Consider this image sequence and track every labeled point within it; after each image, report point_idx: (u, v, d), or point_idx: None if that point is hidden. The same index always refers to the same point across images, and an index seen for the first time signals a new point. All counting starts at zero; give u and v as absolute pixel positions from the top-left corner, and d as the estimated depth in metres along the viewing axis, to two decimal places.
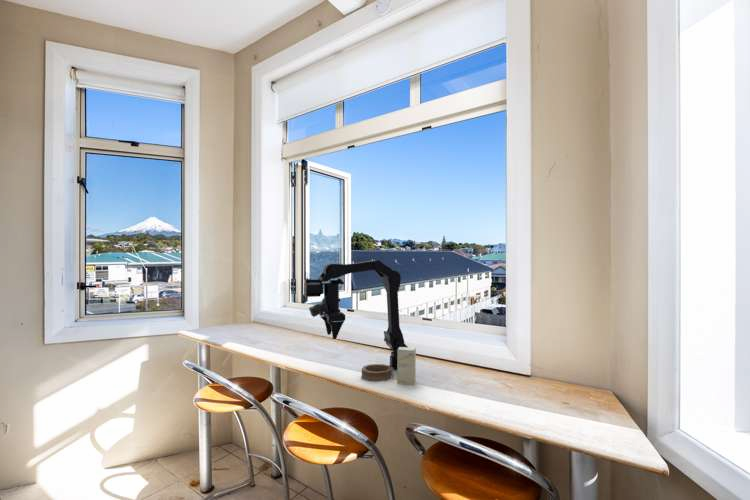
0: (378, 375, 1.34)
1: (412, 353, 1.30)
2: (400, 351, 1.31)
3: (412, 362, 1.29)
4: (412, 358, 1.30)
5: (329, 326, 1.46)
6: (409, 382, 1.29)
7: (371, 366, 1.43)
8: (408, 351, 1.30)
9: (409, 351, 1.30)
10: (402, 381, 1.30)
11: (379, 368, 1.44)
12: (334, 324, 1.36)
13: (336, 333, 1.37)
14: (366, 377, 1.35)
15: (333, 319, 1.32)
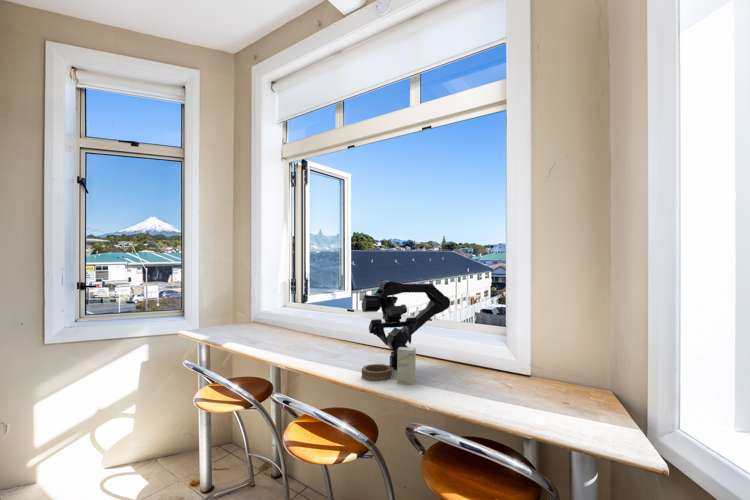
0: (378, 375, 1.34)
1: (412, 353, 1.30)
2: (400, 351, 1.31)
3: (412, 362, 1.29)
4: (412, 358, 1.30)
5: None
6: (409, 382, 1.29)
7: (371, 366, 1.43)
8: (408, 351, 1.30)
9: (409, 351, 1.30)
10: (402, 381, 1.30)
11: (379, 368, 1.44)
12: None
13: None
14: (366, 377, 1.35)
15: None
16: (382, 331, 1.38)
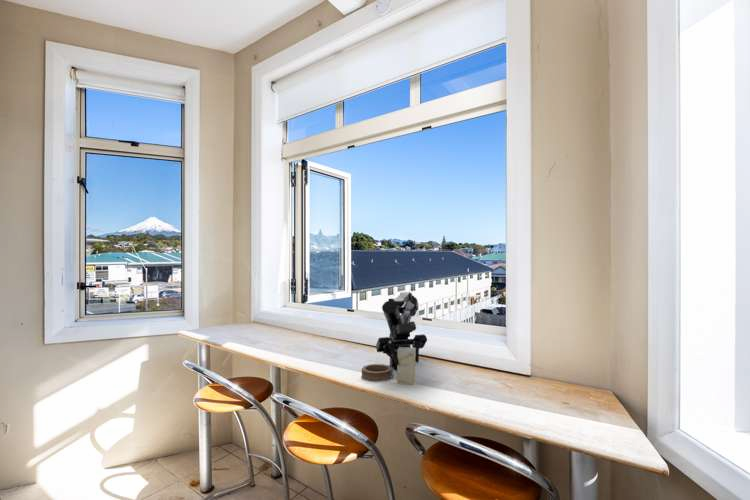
0: (378, 375, 1.34)
1: (412, 353, 1.30)
2: (400, 351, 1.31)
3: (412, 362, 1.29)
4: (412, 358, 1.30)
5: None
6: (409, 382, 1.29)
7: (371, 366, 1.43)
8: (408, 351, 1.30)
9: (409, 351, 1.30)
10: (402, 381, 1.30)
11: (379, 368, 1.44)
12: None
13: None
14: (366, 377, 1.35)
15: None
16: (392, 350, 1.32)
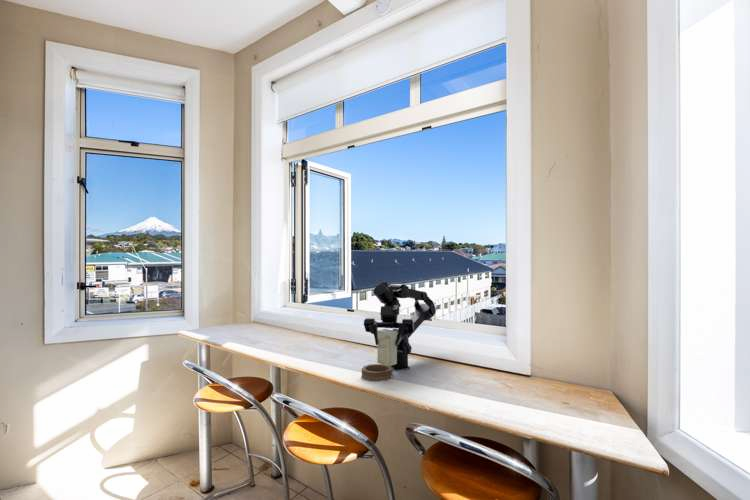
0: (378, 375, 1.34)
1: (388, 336, 1.32)
2: (379, 332, 1.35)
3: (388, 344, 1.32)
4: (388, 340, 1.32)
5: (377, 337, 1.37)
6: (386, 363, 1.33)
7: (371, 366, 1.43)
8: (385, 333, 1.33)
9: (386, 333, 1.33)
10: (381, 362, 1.35)
11: (379, 368, 1.44)
12: None
13: (399, 341, 1.35)
14: (366, 377, 1.35)
15: (412, 324, 1.37)
16: (374, 331, 1.38)
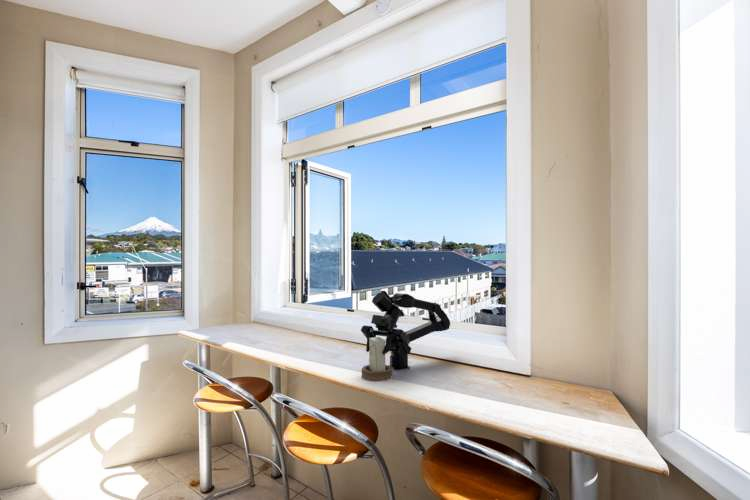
0: (378, 375, 1.34)
1: (374, 344, 1.37)
2: (370, 340, 1.40)
3: (374, 352, 1.36)
4: (374, 348, 1.36)
5: None
6: (373, 370, 1.37)
7: None
8: (372, 341, 1.38)
9: (373, 341, 1.38)
10: (371, 368, 1.40)
11: None
12: (391, 341, 1.39)
13: (387, 350, 1.37)
14: (366, 377, 1.35)
15: (402, 335, 1.37)
16: (368, 338, 1.43)
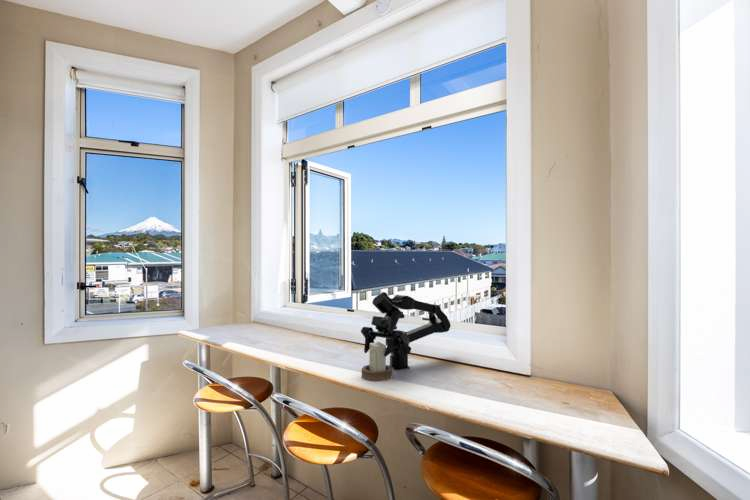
0: (378, 375, 1.34)
1: (375, 349, 1.36)
2: (370, 345, 1.40)
3: (375, 357, 1.36)
4: (375, 353, 1.36)
5: (368, 345, 1.43)
6: None
7: None
8: (373, 346, 1.38)
9: (373, 346, 1.37)
10: None
11: None
12: (393, 343, 1.38)
13: (389, 352, 1.37)
14: (366, 377, 1.35)
15: (402, 336, 1.37)
16: (366, 339, 1.44)
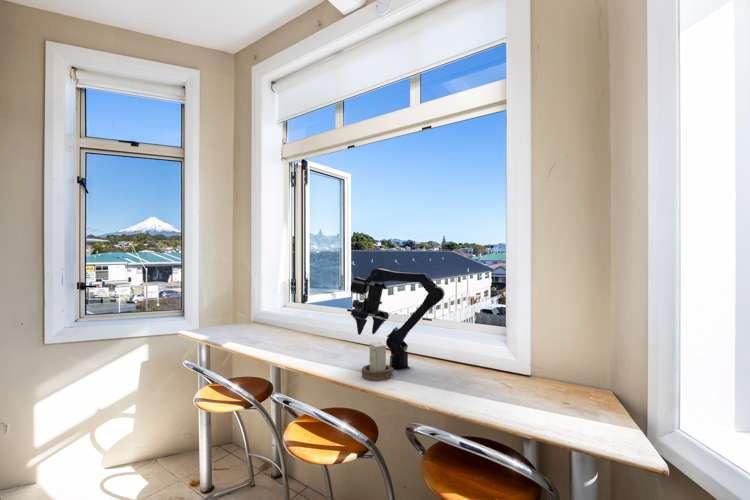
0: (378, 375, 1.34)
1: (375, 349, 1.36)
2: (370, 345, 1.40)
3: (375, 357, 1.36)
4: (375, 353, 1.36)
5: (375, 326, 1.57)
6: None
7: None
8: (373, 346, 1.38)
9: (373, 346, 1.37)
10: None
11: None
12: (359, 320, 1.49)
13: (359, 329, 1.49)
14: (366, 377, 1.35)
15: (352, 314, 1.47)
16: None
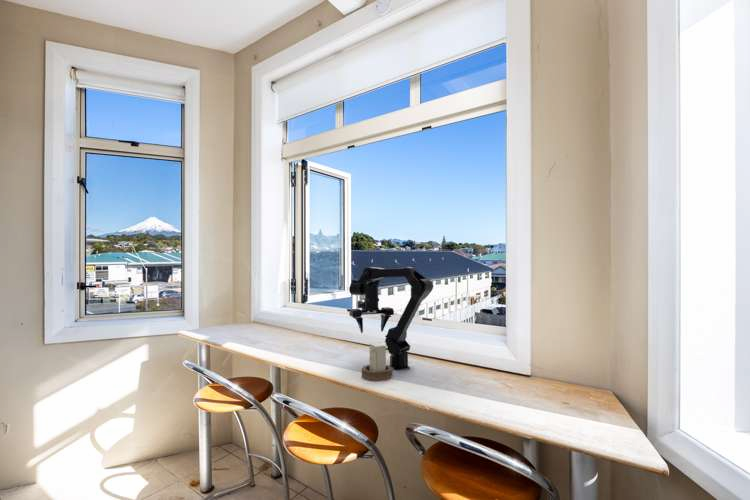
0: (378, 375, 1.34)
1: (375, 349, 1.36)
2: (370, 345, 1.40)
3: (375, 357, 1.36)
4: (375, 353, 1.36)
5: (382, 324, 1.60)
6: None
7: None
8: (373, 346, 1.38)
9: (373, 346, 1.37)
10: None
11: None
12: (358, 319, 1.57)
13: (360, 328, 1.56)
14: (366, 377, 1.35)
15: (350, 314, 1.57)
16: None
